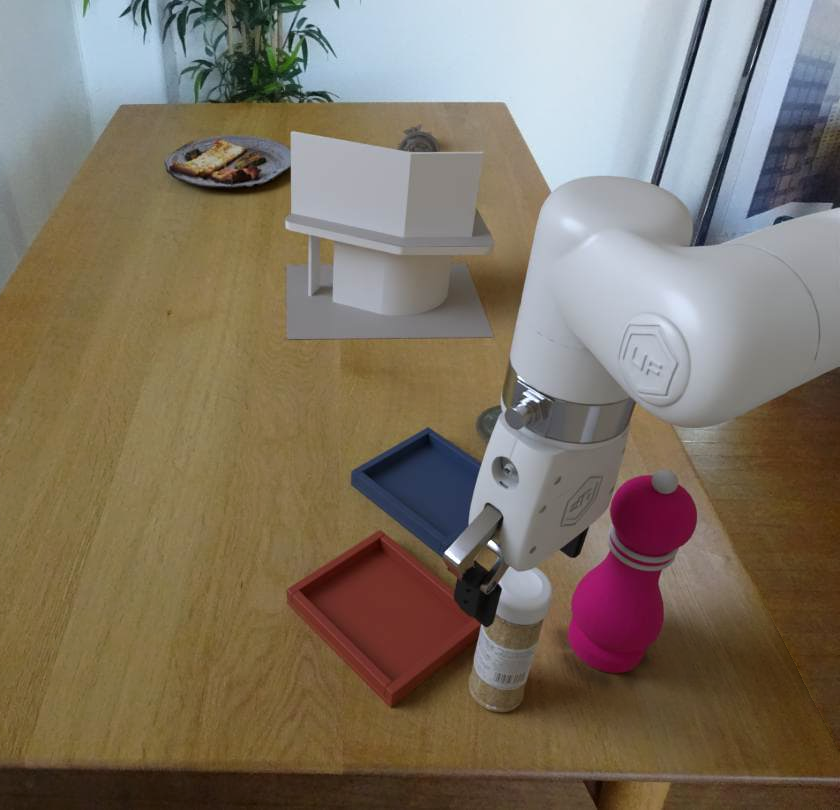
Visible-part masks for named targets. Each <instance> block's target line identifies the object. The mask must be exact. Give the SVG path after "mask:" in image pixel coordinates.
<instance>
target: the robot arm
mask: <svg viewBox="0 0 840 810" xmlns="http://www.w3.org/2000/svg"><path fill="white" fill-rule="evenodd" d="M538 214H539V215H538V218H537V222H536V226H535V231H534V235H533V241H532V245H531V251H530V256H529V260H528V265H527V269H526V275H525V279H524V284H523V290H522V294H521V301H520V303H519V307H518V308H519V309H518V313H517V318H516V323H515V328H514V333H513V338H512V342H511V346H510V347H511V348H510V353H509V356H508V359H507V360H508V361H507V366H506V370H505V374H504V379H503V385H502V391H501V394H500V405H501V408H502V411H503V412H502V413H501V414H500V415H499V417H498V420H497V422H496V425H495V427H494V430H493V432H492V435H491V438H490V440H489V443H488V444H487V446H486V448H485V452H484V455H483V458H482V461H481V463H482V464H481V467H480V471H479V474H478V478H477V481H476V485H475V489H474V493H473V498H472V502H471V507H470V514H469V526H468V527H467V528H466V529H465V530H464V532H463V533H462V534H461V535H460V536H459V537H458V538H457V539H456V540H455V541H454V543H453V544H452V545H451V546H450V547H449V548H448V549H447V550H446V552H445V553H444V555H443V558H442V560H443V562H444V564H445V565H446V568H447V571H448V572H450V573H451V574H452V575H453V576H455V577H456V583H455V587H454V591H455V592H454V600H455V602H456V603H457V604H458V605H459V607H460V609H461V610H462V611H464V612H465V613H466V614H467V615H468V616H470V617H474V618H475V619H476V620H477V621H478V622H479V623H481V624H482V625H483V626H484V627H489V626H490V625H491V624H493V622H494V619H495V615H496V611H497V607H498V603H499V599H500V595H501V591H502V588H501V586H500V585H499V584H498V583H499V581H500V580H501V578H502V577H503V575H504V574H505V572H506V571H507V569H508V568H509V566H510V567H512V568H513V569H514V570H516V571H518V572H522V571H527V570H530V569H533V568H535V567H536V568H537V567H538V566H540V565H541V564H543V563H544V562H545V561H546V560H547V559H549V558H551V557H552V556H553V555H554V554H556V553H557V552H558V551H560V552H561V553H563V554H564V555H566V556H567V557H568V558H571V559H576V558H577V557H578V556H580V555H581V554H582V553H581V552H582V550H583V547H584V545H585V541H586V538H587V535H588V532H589V529H590V526H592V525H593V524H594V523H595V522H597V521H598V519H600V518H601V517H602V516H603V514H605V512H606V511H607V509H608V508H609V506H610V505H611V501H612V499H613V496H614V491H615V487H616V484H617V481H618V478H619V474H620V470H621V467H622V464H623V459H624V457H625V456H624V455H625V452H626V448H627V443H628V439H629V434H630V429H631V428H630V427H631V421H632V417H633V414H634V411H635V408H636V405H638V406H640V407H641V408H642V409H643V410H644V411H646V412H647V413H648V414H650V415H651V416H654V417H655V418H657V419H659V420H661V421H662V422H664V423H665V424H666V423H667V424H669V425H672V426H676V427H680V428H685V429H703V428H709V427H714V426H718V425H721V424H724V423H726V422H729V421H731V420H734V419H735V418H738V417H740V416H742V415H745V414H746V413H748V412H751V411H752V410H754V409H757V408H758V407H760V406H762V405H765V404H766V403H768V402H770V401H772V400H774V399H777V398H778V397H781V396H783V395H784V394H786V393H788V392H789V391H791V390H793V389H795V388H797V387H800V386H802V385H804V384H807V383H808V382H810V381H812V380H813V379H816V378H818V377H820V376H822V375H824V374H826V373H829V372H830V371H833V370H835V369H837V368H840V207H835V208H831V209H825V210H822V211H819V212H813V213H809V214H806V215H801V216H799V217H795V218H792V219H788V220H785V221H782V222H779V223H776V224H773V225H769V226H766V227H763V228H759V229H757V230H754V231H752V232H749V233H747V234H744V235H741V236H738V237H735V238H733V239H730V240H728V241H724V242H722V243H720V244H712V245H698V246H691V242H692V238H693V234H694V233H693V232H694V226H693V225H694V224H693V219H692V215H691V213H690V210H689V208H688V207H687V205H686V204H684V202H683V201H682V200H681V199H680V198H679V197H678V196H677V195H675V194H674V193H673V192H672V191H669V190H667V189H665V188H663V187H661V186H659V185H656V184H653V183H650V182H647V181H645V180H644V181H643V180H640V179H636V178H630V177H625V176H618V175H617V176H615V175H591V176H590V175H589V176H582V177H577V178H574V179H571V180H569V181H567V182H564V183H563V184H560V185H558V186H557V187H556V188H555V189H553V191H551V193H550V194H549V195H548V196H547V198H546V199H545V201H544V202H543V203H542V206H541V208H540V210H539V213H538ZM498 533H499V536H498V538H499V540H498V539H497V538H496V537H495V536H496V535H497V534H498ZM485 547H486V548H488V549H489V550H490V552H491V551H492V553H494V554H495V555H497V556H498V557H497V559H496V560H495V562H494V563H493V564H492V566H491V568H489V570H488V569H487V568H485V567H484V566H483V565H481V564H480V563H479V562H478V561H477V560H476V559H477V556H478V555H479V554H480V553H481V552H482V551H483V550H484V549H485Z"/></svg>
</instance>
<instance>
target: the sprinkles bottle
mask: <svg viewBox="0 0 840 810" xmlns="http://www.w3.org/2000/svg"><path fill="white" fill-rule="evenodd" d="M498 584H499V585H500V586H501V588H502V591H501V595H500V599H499V603H498V607H497V611H496V615H495V619H494V622H493V624H491V625H490V626H489V627H484V626H483V625H482V624H481V628H480V633H479V638H478V639H477V643H476V646H475V647H476V648H475V652H474V656H473V665H472V670H471V673H470V675H469V677H468V685H467V686H468V691H469V693H470V695H471V697H472V699H473V700H474V701H475V702H476V703H477V704H478V705H479V706H481V707H482V708H484V709H486V710H488V711H490V712H494V713H507V712H511V711H514V710H515V709H517V707H519V706H520V704H521V703H522V701H523V699H524V696H525V687H526V684H527V681H528V677H529V673H530V670H531V668H532V664H533V661H534V657H535V653H536V650H537V647H538V643H539V639H540V635H541V632H542V627H543V625H544V624H543V623H544V619H545V618H546V616H547V615H548V614H549V611H550V609H551V605H552V600H553V596H554V587H553V585H552V582H551V580H550V578H549V577H548V575H546V574H545V572H544V571H542V570H541V569H540V568H538V567H537V566H536V567H535V568H533V569H530V570H527V571H522V572H518V571H516V570H514V569H513V568H512V567H510V566H509V568H508V569H507V571H506V572H505V574H504V575H503V577H502V578H501V580H500V581H499V583H498Z"/></svg>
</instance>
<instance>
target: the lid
mask: <svg viewBox="0 0 840 810" xmlns="http://www.w3.org/2000/svg"><path fill="white" fill-rule="evenodd" d="M502 412H503V411H502V408H501V404H498V405H495V406H492V407H491V406H490V407H489V408H486V409H485V410H484V411H482V412H481V413H480V414H479V415H478V416H477V418H476V421H475V428H476V432H477V434H478V436H479V437H480V438H481V439H482V440H483V442H485V443H486V444H487V445H488V443H489V440H490V438H491V435H492V432H493V430H494V427H495V425H496V422H497V420H498V417H499V415H500V414H501V413H502Z"/></svg>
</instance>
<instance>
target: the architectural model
mask: <svg viewBox="0 0 840 810" xmlns="http://www.w3.org/2000/svg"><path fill="white" fill-rule="evenodd" d="M290 150H291V165H290V210H291V211H290V213H289V214H288V215H287V216H286V217H285V218H284V219H285V222H284V223H285V224H284V225H285V229H286V230H288V231H291V232H295V233H300V234H304V235H308V247H307V248H308V254H307V255H308V256H307V257H308V261H307V263H308V264H307V263H306V264H305V263H304V264H303V263H302V264H285V268H286V269H285V271H286V272H285V278H286V279H285V283H286V285H285V288H286V291H285V292H286V296H285V297H286V300H285V302H286V303H285V304H286V305H285V306H286V309H285V310H286V311H285V312H286V315H285V316H286V319H285V321H286V340H347V339H358V340H359V339H361V340H362V339H366V340H367V339H449V338H450V339H452V338H453V339H454V338H455V339H456V338H457V339H460V338H462V339H463V338H464V339H466V338H469V339H471V338H495V335H494V332H493V330H492V327H491V325H490V322H489V320H488V317H487V314H486V311H485V309H484V306H483V304H482V301H481V298H480V296H479V292H478V290H477V288H476V285H475V282H474V280H473V277H472V274H471V271H470V269H469V266H468V264H467V262H453V256H472V255H473V256H475V255H480V256H481V255H482V256H483V255H491V254H493V253H494V250H495V245H496V241H495V240H494V239H495V238H494V237H493V235H492V233H491V231H490V230H489V228H488V226H487V224H486V222H485V220H484V219H483V217H482V214H481V213H480V212H479V209H478V208H477V202H478V196H479V189H480V182H481V175H482V167H483V161H484V155H485V154H484V153H485V152H484V151H440V152H430V151H426V152H409V151H401V150H398V149H396V148H389V147H384V146H379V145H374V144H373V145H372V144H367V143H362V142H357V141H351V140H344V139H340V138H333V137H329V136H322V135H317V134H311V133H307V132H306V133H305V132H300V131H294V130H292V131H291V132H290ZM322 239H326V240H330V241H333V263H321V248H322V247H321V243H322V241H321V240H322Z"/></svg>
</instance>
